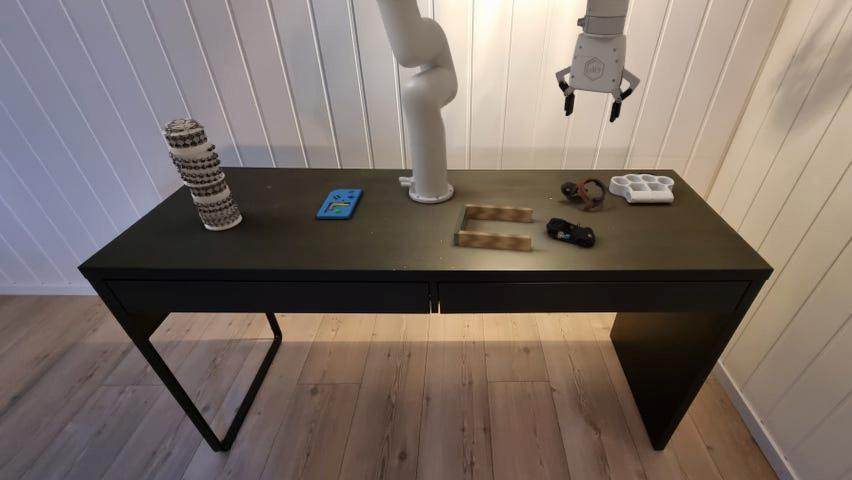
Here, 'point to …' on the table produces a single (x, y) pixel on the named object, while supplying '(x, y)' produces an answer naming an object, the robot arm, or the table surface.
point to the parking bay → (492, 238)
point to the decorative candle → (202, 173)
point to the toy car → (570, 232)
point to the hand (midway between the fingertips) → (590, 117)
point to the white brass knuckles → (643, 188)
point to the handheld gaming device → (339, 204)
